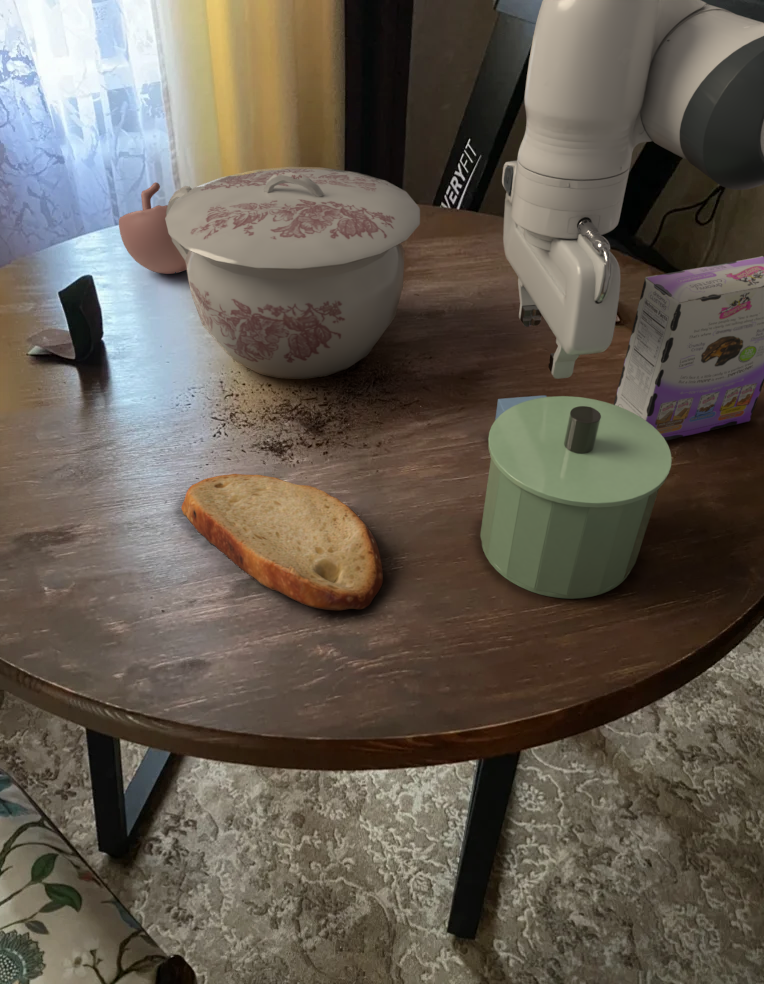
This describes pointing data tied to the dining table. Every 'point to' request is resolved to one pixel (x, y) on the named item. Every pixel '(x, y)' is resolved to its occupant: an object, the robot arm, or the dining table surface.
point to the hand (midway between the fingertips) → (543, 347)
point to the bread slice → (289, 538)
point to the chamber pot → (294, 264)
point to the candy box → (697, 349)
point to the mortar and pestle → (150, 237)
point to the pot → (560, 540)
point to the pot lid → (579, 451)
